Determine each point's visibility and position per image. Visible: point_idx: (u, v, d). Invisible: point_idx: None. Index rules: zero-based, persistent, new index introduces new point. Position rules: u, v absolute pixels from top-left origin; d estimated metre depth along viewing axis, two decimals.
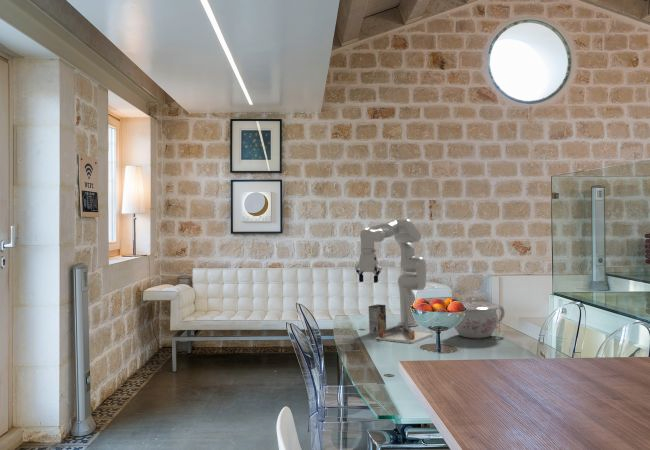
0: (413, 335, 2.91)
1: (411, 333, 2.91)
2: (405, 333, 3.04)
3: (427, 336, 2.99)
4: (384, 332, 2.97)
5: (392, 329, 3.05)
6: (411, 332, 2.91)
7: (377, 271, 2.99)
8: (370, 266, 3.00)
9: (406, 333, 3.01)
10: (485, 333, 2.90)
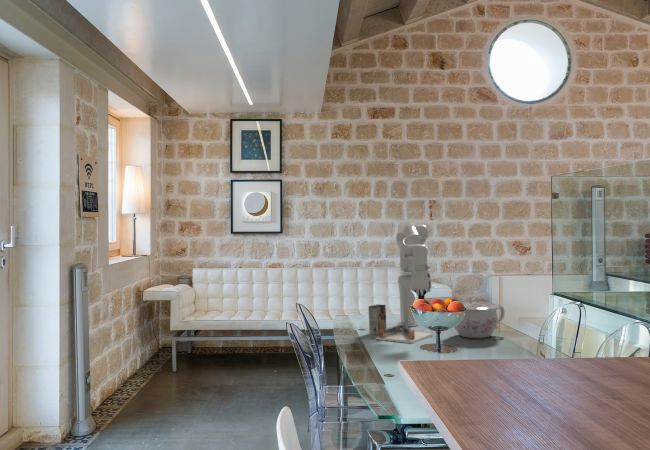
0: (413, 335, 2.91)
1: (411, 333, 2.91)
2: (405, 333, 3.04)
3: (427, 336, 2.99)
4: (384, 332, 2.97)
5: (392, 329, 3.05)
6: (411, 332, 2.91)
7: (424, 291, 2.86)
8: (424, 284, 2.85)
9: (406, 333, 3.01)
10: (485, 333, 2.90)
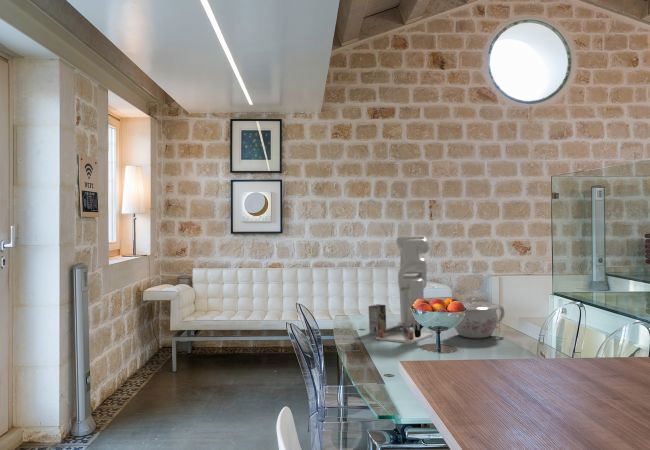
0: (412, 335, 2.91)
1: (410, 333, 2.91)
2: (405, 333, 3.04)
3: (427, 336, 2.99)
4: (384, 332, 2.97)
5: (392, 329, 3.05)
6: (410, 332, 2.91)
7: (420, 326, 2.88)
8: None
9: (406, 333, 3.01)
10: (485, 333, 2.90)
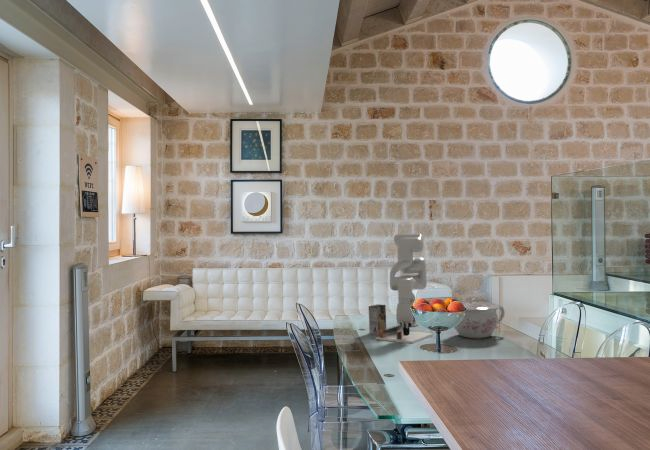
0: (400, 335, 2.91)
1: (398, 333, 2.92)
2: None
3: (427, 336, 2.99)
4: (384, 332, 2.97)
5: (392, 329, 3.05)
6: (398, 332, 2.92)
7: (409, 324, 2.91)
8: (408, 317, 2.90)
9: None
10: (485, 333, 2.90)
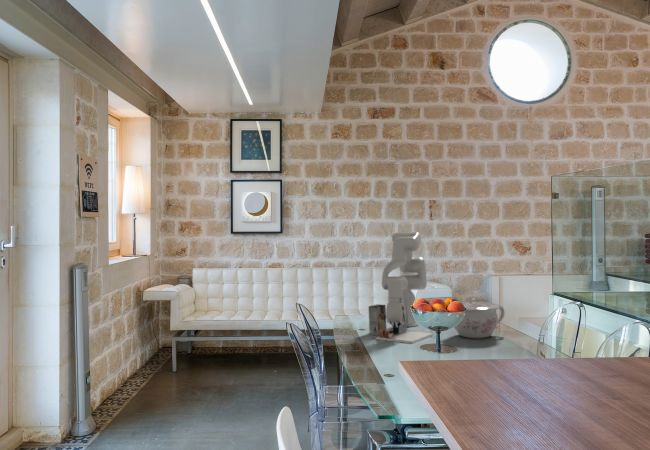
0: (388, 334, 2.94)
1: (386, 332, 2.95)
2: None
3: (427, 336, 2.99)
4: (384, 332, 2.97)
5: None
6: (386, 331, 2.95)
7: (398, 323, 2.95)
8: (398, 316, 2.94)
9: None
10: (485, 333, 2.90)
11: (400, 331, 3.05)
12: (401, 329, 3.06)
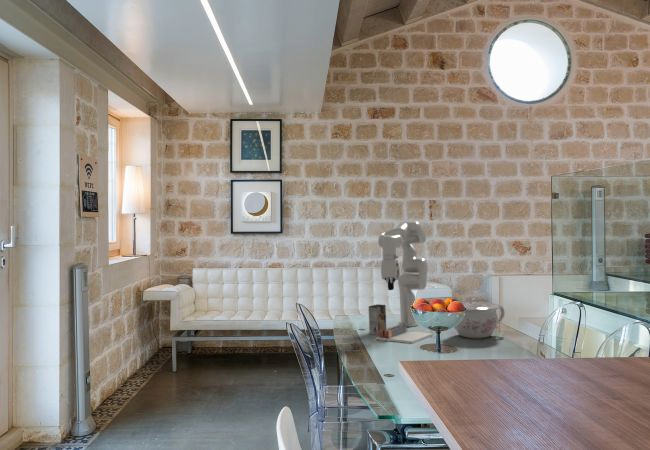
0: (387, 334, 2.94)
1: (385, 332, 2.95)
2: None
3: (427, 336, 2.99)
4: (384, 332, 2.97)
5: None
6: (386, 331, 2.95)
7: (393, 279, 3.07)
8: (393, 272, 3.05)
9: None
10: (485, 333, 2.90)
11: (400, 331, 3.05)
12: (401, 329, 3.06)
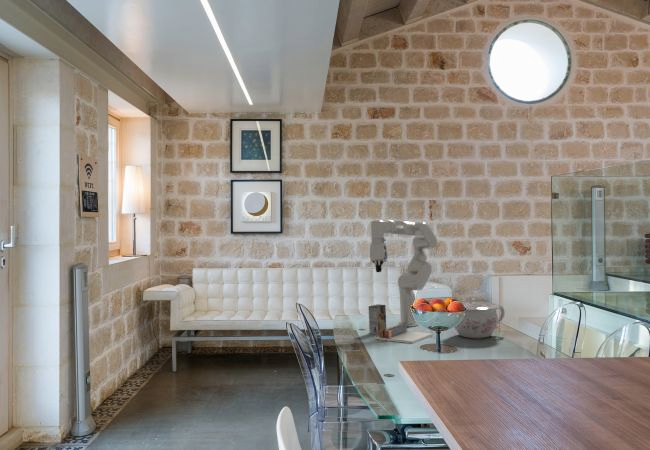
0: (387, 334, 2.94)
1: (385, 332, 2.95)
2: None
3: (427, 336, 2.99)
4: (384, 332, 2.97)
5: None
6: (386, 331, 2.95)
7: (380, 261, 3.21)
8: (380, 254, 3.19)
9: None
10: (485, 333, 2.90)
11: (400, 331, 3.05)
12: (401, 329, 3.06)
